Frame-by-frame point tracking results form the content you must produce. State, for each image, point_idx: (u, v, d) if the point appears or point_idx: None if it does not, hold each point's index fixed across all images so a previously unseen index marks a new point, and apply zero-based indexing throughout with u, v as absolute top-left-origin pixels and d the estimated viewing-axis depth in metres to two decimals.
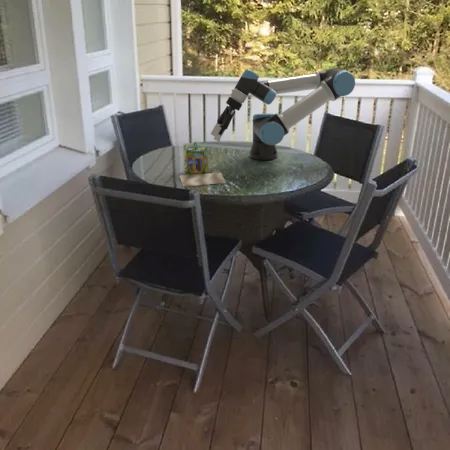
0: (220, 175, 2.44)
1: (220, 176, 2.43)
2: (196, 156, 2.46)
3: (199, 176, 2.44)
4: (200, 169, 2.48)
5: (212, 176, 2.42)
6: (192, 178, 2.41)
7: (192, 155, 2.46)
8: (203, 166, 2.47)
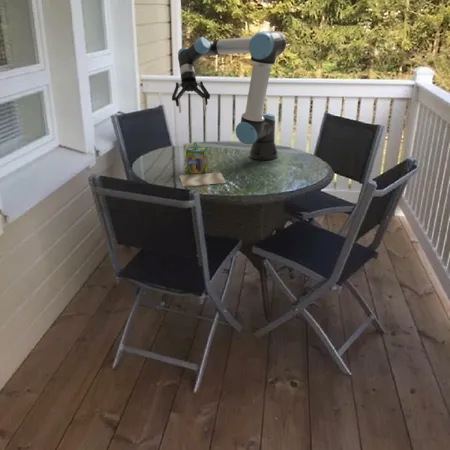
0: (220, 175, 2.44)
1: (220, 176, 2.43)
2: (196, 156, 2.46)
3: (199, 176, 2.44)
4: (200, 169, 2.48)
5: (212, 176, 2.42)
6: (192, 178, 2.41)
7: (192, 155, 2.46)
8: (203, 166, 2.47)
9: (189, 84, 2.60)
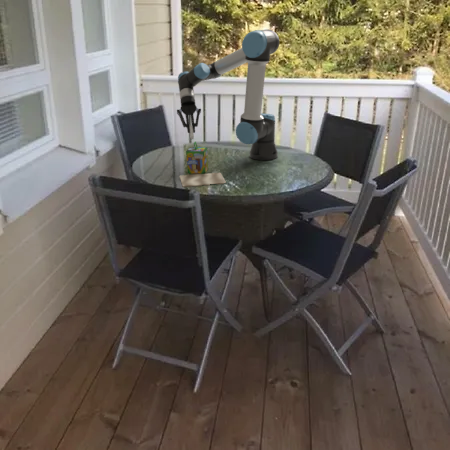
0: (220, 175, 2.44)
1: (220, 176, 2.43)
2: (196, 156, 2.46)
3: (199, 176, 2.44)
4: (200, 169, 2.48)
5: (212, 176, 2.42)
6: (192, 178, 2.41)
7: (192, 155, 2.46)
8: (203, 166, 2.47)
9: (188, 108, 2.64)
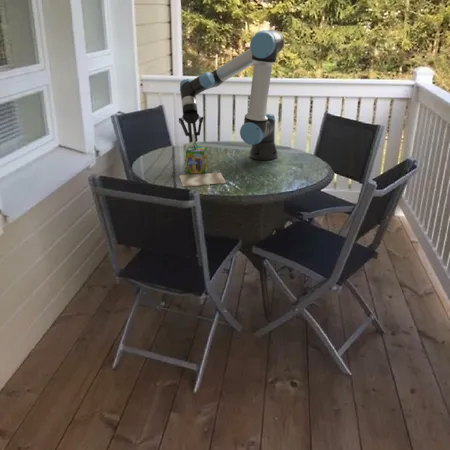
0: (220, 175, 2.44)
1: (220, 176, 2.43)
2: (196, 156, 2.45)
3: (199, 176, 2.44)
4: (200, 169, 2.48)
5: (212, 176, 2.42)
6: (192, 178, 2.41)
7: (192, 155, 2.45)
8: (203, 166, 2.47)
9: (190, 116, 2.59)
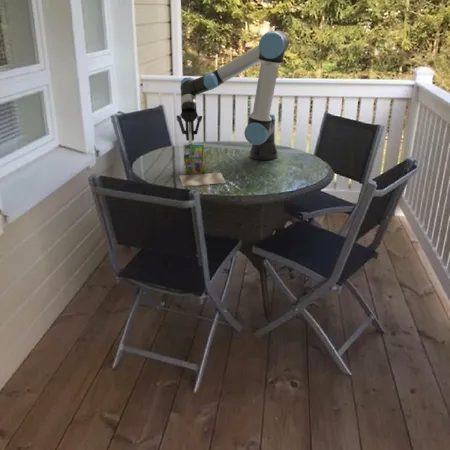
0: (220, 175, 2.44)
1: (220, 176, 2.43)
2: (195, 161, 2.42)
3: (199, 176, 2.44)
4: (200, 170, 2.47)
5: (212, 176, 2.42)
6: (192, 178, 2.41)
7: (190, 160, 2.42)
8: (203, 168, 2.46)
9: (189, 115, 2.53)
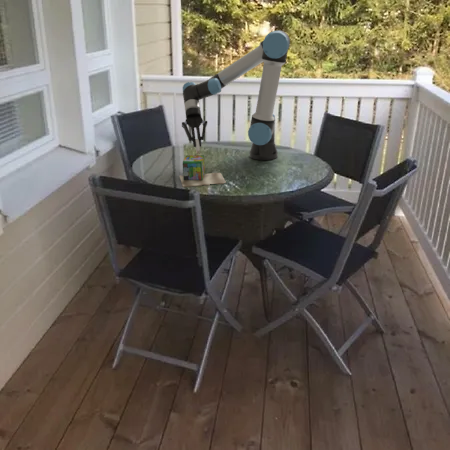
0: (220, 175, 2.44)
1: (220, 176, 2.43)
2: None
3: None
4: None
5: (212, 176, 2.42)
6: None
7: None
8: None
9: (194, 120, 2.50)
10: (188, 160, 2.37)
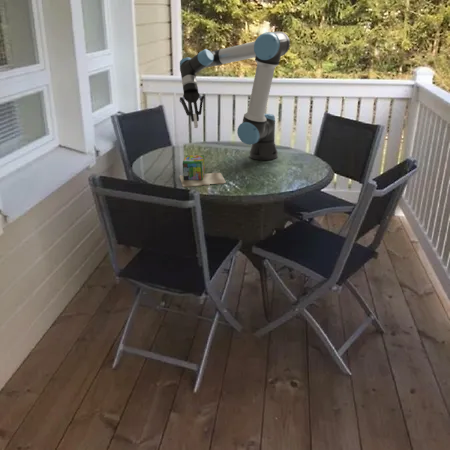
0: (220, 175, 2.44)
1: (220, 176, 2.43)
2: None
3: None
4: None
5: (212, 176, 2.42)
6: None
7: None
8: None
9: (191, 96, 2.59)
10: (188, 160, 2.37)
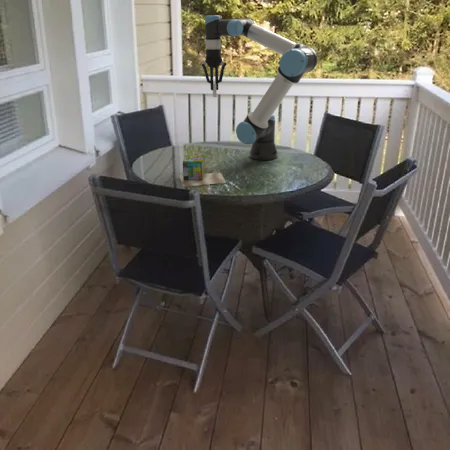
0: (220, 175, 2.44)
1: (220, 176, 2.43)
2: None
3: None
4: None
5: (212, 176, 2.42)
6: None
7: None
8: None
9: (214, 62, 2.57)
10: (188, 160, 2.37)
